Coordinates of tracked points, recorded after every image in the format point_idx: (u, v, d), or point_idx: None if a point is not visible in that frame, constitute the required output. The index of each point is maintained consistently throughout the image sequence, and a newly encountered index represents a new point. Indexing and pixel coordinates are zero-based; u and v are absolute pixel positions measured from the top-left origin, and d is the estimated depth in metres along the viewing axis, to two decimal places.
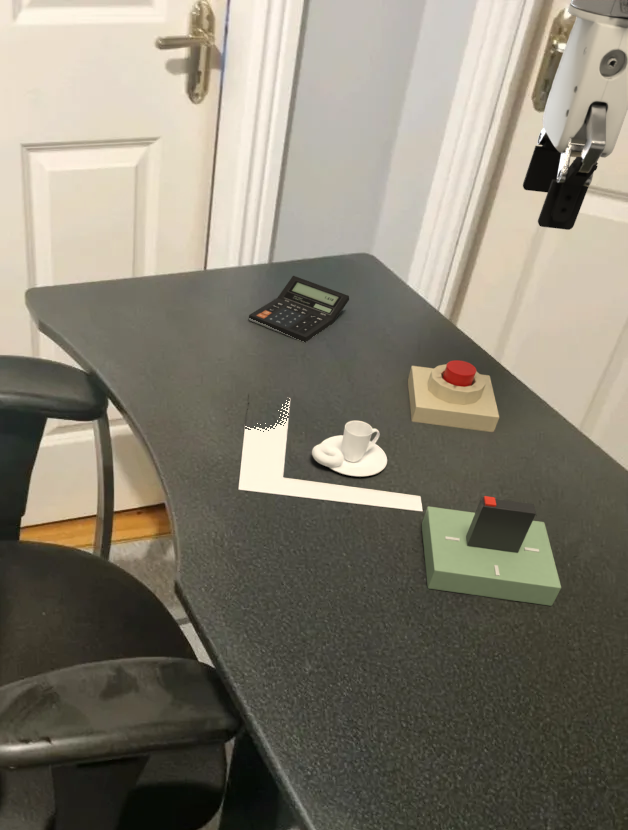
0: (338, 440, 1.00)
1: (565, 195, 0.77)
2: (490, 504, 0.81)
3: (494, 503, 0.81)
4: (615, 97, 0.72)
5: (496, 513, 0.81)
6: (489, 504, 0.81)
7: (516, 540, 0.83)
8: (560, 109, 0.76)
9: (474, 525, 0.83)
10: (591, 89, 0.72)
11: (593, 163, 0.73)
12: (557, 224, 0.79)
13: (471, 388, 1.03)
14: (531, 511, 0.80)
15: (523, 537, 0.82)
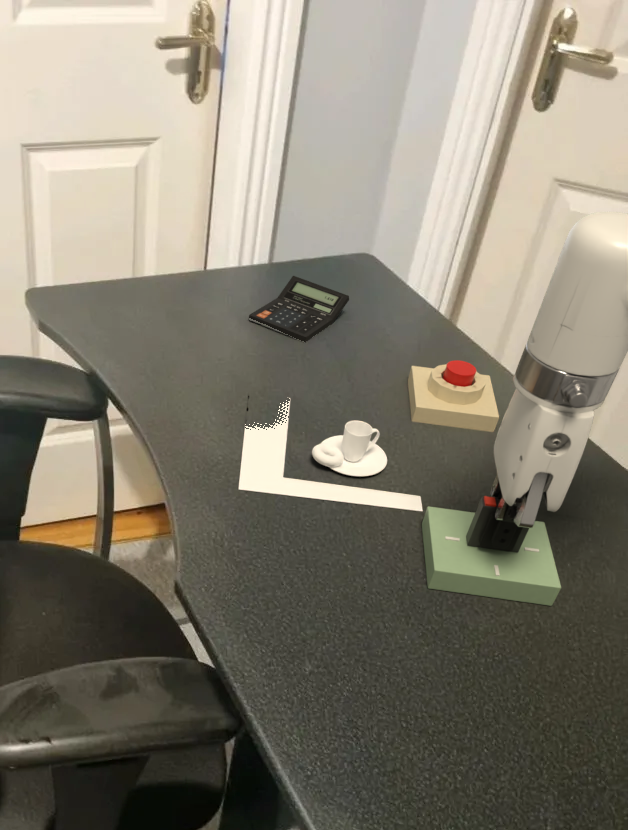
0: (338, 440, 1.00)
1: (503, 529, 0.80)
2: (490, 504, 0.81)
3: (494, 503, 0.81)
4: (560, 470, 0.72)
5: None
6: (489, 504, 0.81)
7: None
8: (507, 464, 0.75)
9: (474, 525, 0.83)
10: (536, 462, 0.72)
11: None
12: (497, 547, 0.83)
13: (471, 388, 1.03)
14: None
15: (523, 537, 0.82)
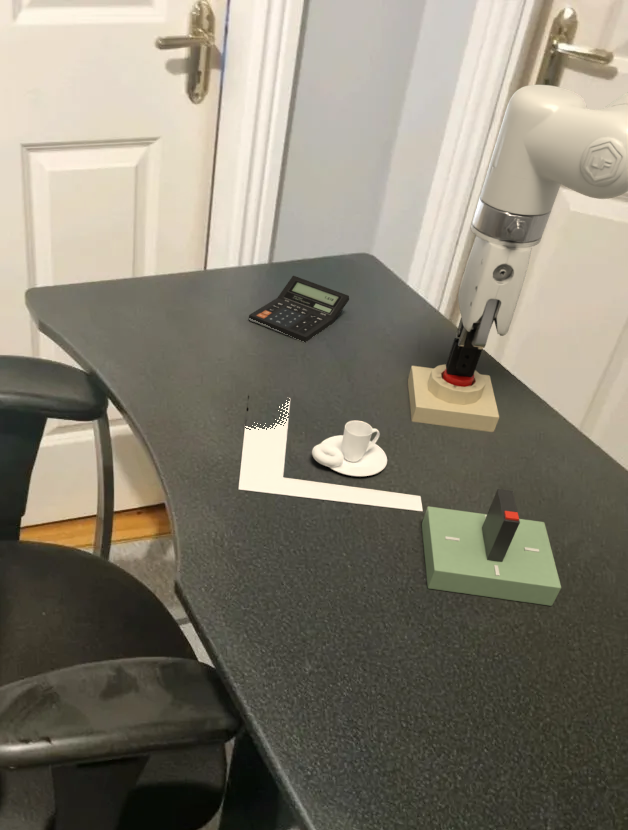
0: (338, 440, 1.00)
1: (465, 355, 1.01)
2: (517, 516, 0.79)
3: (515, 513, 0.80)
4: (506, 296, 0.92)
5: None
6: (517, 517, 0.79)
7: None
8: (467, 298, 0.96)
9: (508, 543, 0.81)
10: (487, 290, 0.92)
11: None
12: (461, 373, 1.04)
13: (471, 388, 1.03)
14: (511, 492, 0.82)
15: None
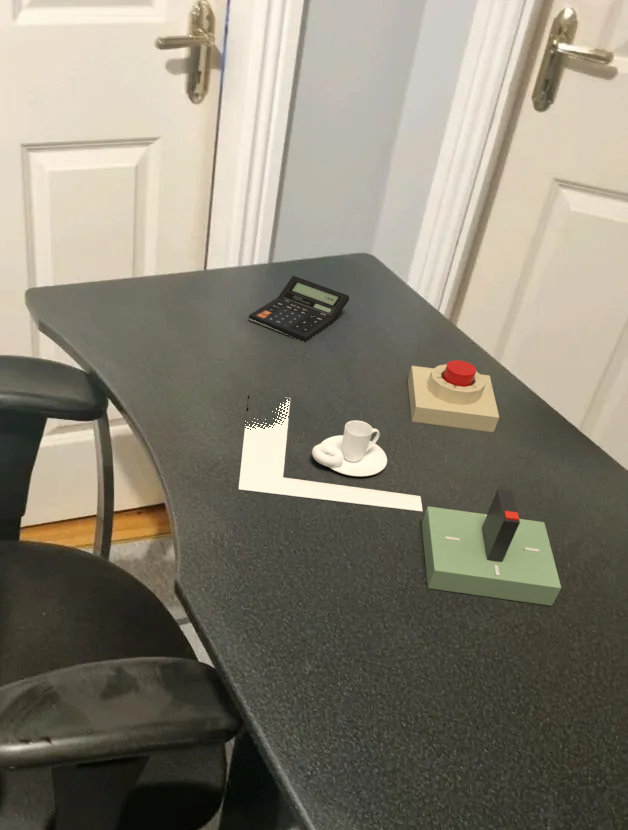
0: (338, 440, 1.00)
1: None
2: (517, 516, 0.79)
3: (515, 513, 0.80)
4: None
5: None
6: (517, 517, 0.79)
7: None
8: None
9: (508, 543, 0.81)
10: None
11: None
12: None
13: (471, 388, 1.03)
14: (511, 492, 0.82)
15: None
